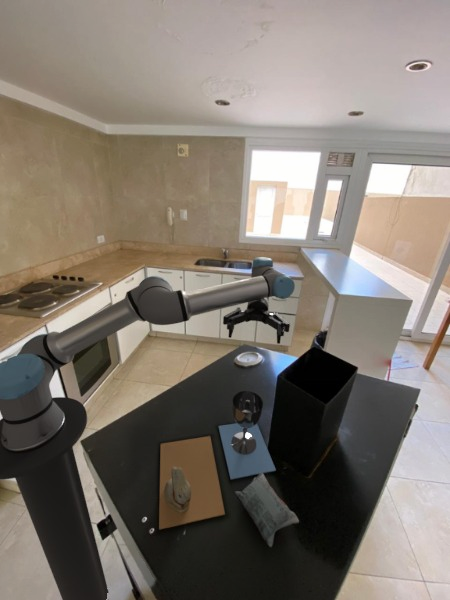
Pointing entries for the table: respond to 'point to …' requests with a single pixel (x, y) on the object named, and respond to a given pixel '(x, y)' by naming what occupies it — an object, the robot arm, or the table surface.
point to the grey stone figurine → (178, 491)
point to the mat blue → (245, 463)
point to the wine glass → (246, 420)
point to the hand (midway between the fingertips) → (254, 336)
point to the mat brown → (190, 481)
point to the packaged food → (265, 508)
